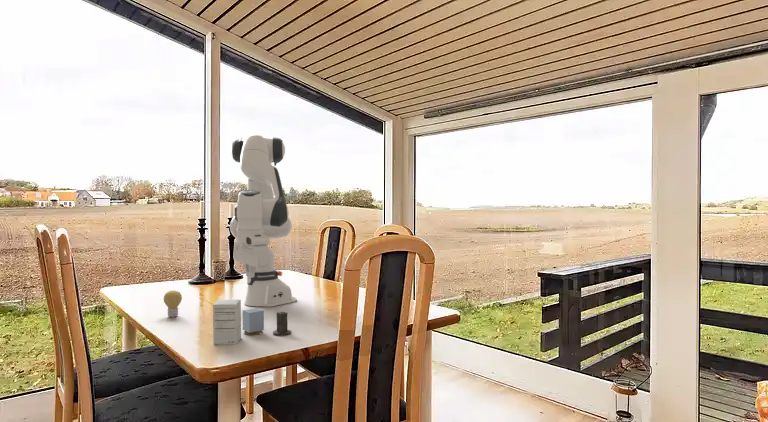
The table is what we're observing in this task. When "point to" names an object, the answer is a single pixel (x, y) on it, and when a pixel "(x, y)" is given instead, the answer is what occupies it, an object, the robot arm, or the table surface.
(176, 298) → the light bulb
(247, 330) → the cap
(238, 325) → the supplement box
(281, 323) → the black post
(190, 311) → the table surface
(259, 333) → the walnut post
